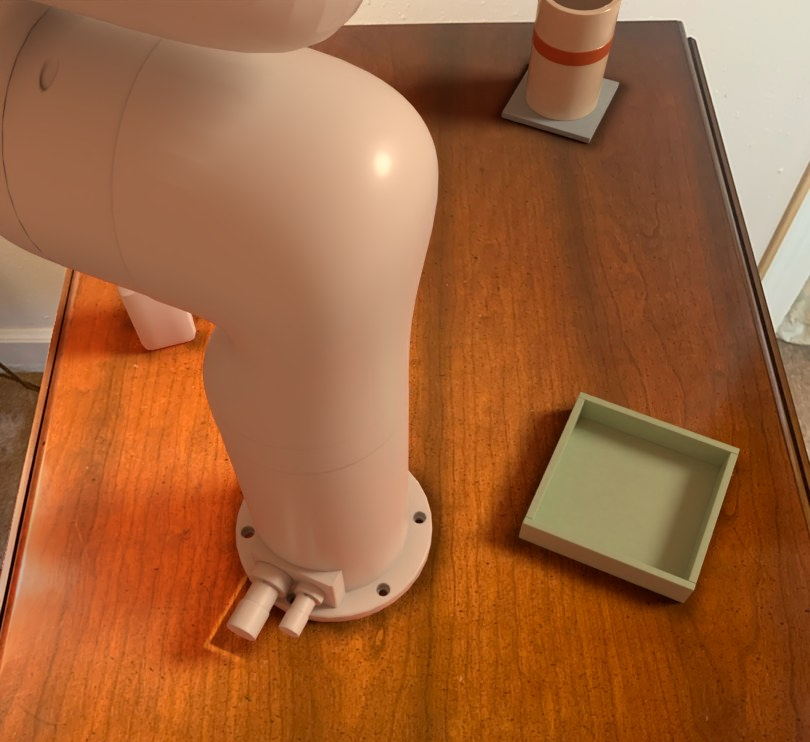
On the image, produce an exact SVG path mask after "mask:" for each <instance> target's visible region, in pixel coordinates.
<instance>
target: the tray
mask: <svg viewBox="0 0 810 742" xmlns="http://www.w3.org/2000/svg"><path fill="white" fill-rule="evenodd" d="M740 451H741V449H740V448H738V447H736V446H733V445H731V444H727V443H725V442H722V441H719V440H716V439H713V438H711V437H708V436H705V435H702V434H699V433H697V432H695V431H691V430H689V429H686V428H682V427H680V426H678V425H675V424H672V423H670V422H666V421H663V420H661V419H658V418H655V417H652V416H649V415H647V414H644V413H642V412H641V413H640V412H638V411H637V410H633V409H631V408H627V407H624V406H622V405H619V404H616V403H613V402H612V401H611V402H610V401H608V400H605V399H602V398H599V397H597V396H593V395H591V394H588V393H585V392H584V391H583V392H582V391H580V392H579V394H578V396H577V397H576V401H575V403H574V405H573V407H572V410H571V412H570V414H569V416H568V419H567V421H566V423H565V425H564V428H563V430H562V433H561V435H560V437H559V439H558V441H557V444H556V446H555V448H554V451H553V453H552V454H551V457H550V459H549V462H548V464H547V466H546V469H545V471H544V473H543V475H542V477H541V480H540V482H539V485H538V487H537V489H536V491H535V493H534V496H533V498H532V500H531V502H530V505H529V507H528V509H527V512H526V514H525V516H524V518H523V521H522V523H521V527H520V530H519V532H518V533H519V534H518V538H519V539H521V540H524V541H526V542H529V543H532V544H534V545H536V546H539V547H541V548H544V549H546V550H549V551H551V552H554V553H557V554H559V555H562V556H564V557H567V558H569V559H572V560H574V561H577V562H579V563H581V564H584V565H587V566H589V567H592V568H594V569H597V570H599V571H601V572H604V573H607V574H609V575H612V576H614V577H617V578H619V579H622V580H625V581H627V582H629V583H632V584H634V585H636V586H639V587H642V588H644V589H646V590H650V591H652V592H654V593H656V594H659V595H662V596H664V597H667V598H668V599H671V600H673V601H677V602H679V603H681V604H682V603H683V604H684V603H685V602H686V601H687V599H688V598H690V596H691V595H692V593H693V592H695V591H694V590H695V589H696V586H697V582H698V579H699V576H700V573H701V570H702V566H703V563H704V560H705V558H706V554H707V553H708V548H709V545H710V543H711V539H712V536H713V534H714V533H713V532H714V529H715V527H716V524H717V520H718V517H719V515H720V511H721V509H722V506H723V502H724V499H725V496H726V493H727V490H728V487H729V484H730V480H731V478H732V475H733V472H734V468H735V466H736V463H737V459H738V456H739V453H740Z"/></svg>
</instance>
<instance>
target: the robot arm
mask: <svg viewBox="0 0 810 742" xmlns="http://www.w3.org/2000/svg"><path fill="white" fill-rule="evenodd" d="M363 2H364V0H0V236H1V237H2V238H3V239H5V240H7V242H9V243H11V244H13V245H14V246H16V247H18V248H20V249H22V250H24V251H26V252H28V253H30V254H32V255H34V256H37V257H40V258H41V259H43V260H47V261H49V262H50V263H54V264H56V265H59V266H61V267H63V268H66V269H69V270H72V271H75V272H78V273H80V274H84V275H86V276H89V277H92V278H95V279H97V280H101V281H103V282H106V283H108V284H112V285H114V286H116V287H117V286H120V287H123V288H126V289H129V290H131V291H134V292H137V293H140V294H143V295H146V296H148V297H150V298H152V299H153V300H155V301H158V302H160V303H163V304H166V305H169V306H172V307H175V308H177V309H180V310H183V311H185V312H188V313H190V314H192V316H196V317H198V318H200V319H202V320H205V321H206V322H208V323H210V324H213V325H214V328H213V330H212V332H211V334H210V335H209V338H208V341H207V343H206V345H205V346H206V347H205V350H204V355H203V362H202V382H203V387H204V388H203V389H204V392H205V396H206V400H207V403H208V407H209V409H210V412H211V415H212V418H213V421H214V423H215V426H216V427H217V429H218V431H219V434H220V436H221V439H222V442H223V445H224V447H225V451H226V453H227V456H228V458H229V462H230V464H231V466H232V469H233V472H234V475H235V477H236V481H237V483H238V485H239V488H240V491H241V493H242V495H243V496H242V497H243V499H242V502H241V505H240V507H239V509H238V512H237V518H236V523H235V543H236V549H237V553H238V556H239V557H238V558H239V560H240V563H241V566H242V568H243V570H244V571H245V574H246V576H247V578H248V580H249V581H250V583H251V585H250V586H249V588H248V590H247V592H246V593H245V595H244V596H243V598H241V599H240V600H239V602H238V603H237V605H236V607H235V609H234V610H233V612H232V614H231V616H230V617H229V619H228V621H227V623H225V626H226V628H227V629H228V630H229V631H231V632H232V633H234V634H235V635H237V637H240V638H242V639H244V640H247V641H250V642H256V640H257V638H258V636H259V634H260V633H261V631H262V629H263V627H264V626H265V624H266V622H267V620H268V618H269V617H270V612H271V610H272V608H273V606H275V607H277V608H278V609H280V610H281V611H283V612H285V614H284V616H283V617H282V619H281V621H280V623H279V625H278V627H277V628H278V629H279V631H281V632H282V633H283V634H285V635H287V636H289V637H291V638H295V639H299V638H300V636H301V634H302V632H303V630H304V628H305V626H306V625H307V623H308V621H309V620H310V621H313V622H319V623H343V622H348V621H353V620H359V619H362V618H365V617H368V616H370V615H373V614H375V613H378V612H380V611H381V610H384V609H386V608H387V607H388V606H390V605H392V604H394V603H395V602H396V601H397V600H398V599H400V598H401V597H402V596H403V595H404V594H405V593H407V591H409V590H410V588H411V587H412V586H413V584H414V583H415V582H416V580H417V579H418V578H419V577H420V575H421V573H422V571H423V569H424V567H425V565H426V563H427V561H428V557H429V554H430V549H431V546H432V536H433V521H432V511H431V508H430V504H429V501H428V498H427V495H426V494H425V492H424V489H423V488H422V486H421V484H420V482H419V481H418V480H417V479H416V477H415V476H414V475H413V474H412V473H411V472H410V470H409V464H410V463H409V455H410V453H409V452H410V449H409V447H410V445H409V443H410V442H409V441H410V439H409V437H410V436H409V435H410V432H409V431H410V349H411V348H410V347H411V334H412V322H413V317H414V310H415V305H416V300H417V299H416V298H417V296H418V295H417V294H418V289H419V286H420V281H421V277H422V273H423V269H424V265H425V261H426V257H427V253H428V249H429V244H430V241H431V238H432V237H431V236H432V232H433V229H434V228H433V227H434V222H435V215H436V210H437V203H438V198H439V197H438V196H439V161H438V155H437V150H436V145H435V142H434V140H433V136H432V134H431V132H430V129H429V128H428V126H427V124H426V123H425V121H424V119H423V118H422V116H421V115H420V113H419V112H418V111H417V110H416V108H415V107H414V105H412V104H411V103H410V101H408V100H407V98H406V97H404V95H402V94H401V93H400V92H399V91H398V90H396V89H395V88H394V87H393V86H392V85H390V84H388V83H387V82H386V81H385V80H383V79H381V78H379V77H378V76H376V75H374V74H372V73H371V72H369V71H367V70H365V69H363V68H361V67H359V66H357V65H354V64H353V63H350V62H348V61H346V60H344V59H342V58H339V57H336V56H335V55H331V54H327V53H325V52H322V51H320V50H316V49H313V48H311V46H314V45H317V44H319V43H321V42H324V41H326V40H328V39H329V38H331V37H332V36H333V35H335V33H337V32H338V31H339V30H340V29H341V28H342V27H343V26H344V25H345V24H346V23H348V21H350V19H351V18H352V17H353V16H354V15H355V14H356V13H357V11H358V10H359V8H360V7H361V5H362V3H363ZM417 521H421V522H422V523H421V522H420V523H419V522H418V523H417ZM249 536H251V537H249ZM382 592H385V593H386V595H380V593H382Z"/></svg>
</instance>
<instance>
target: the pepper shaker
mask: <svg viewBox="0 0 810 742" xmlns="http://www.w3.org/2000/svg"><path fill="white" fill-rule="evenodd" d="M116 288H117V291H118V294H119V297H120V299H121V302H122V304H123V305H124V308H125V310H126V312H127V314H128V317H129V319H130V321H131V323H132V325H133V328H134V331H135V333H136V335H137V337H138V339H139V341H140V343H141V345H142V346H143V348H145V349H146V350H147V351H155V350H159V349H163V348H167V347H171V346H176V345H179V344H183V343H187V342H191V341H192V340H194V339H195V338H196V334H197V333H196V332H197V329H196V326H195V322H194V318H193V314H190V313H188V312H185V311H183V310H180V309H177V308H175V307H172V306H169V305H166V304H163V303H160V302H158V301H155V300H153V299H152V298H150V297H148V296H146V295H143V294H140V293H137V292H134V291H131V290H129V289H126V288H123V287H120V286H117V285H116Z"/></svg>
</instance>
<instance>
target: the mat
mask: <svg viewBox="0 0 810 742" xmlns="http://www.w3.org/2000/svg"><path fill="white" fill-rule="evenodd" d="M527 75H528V69H527V70H526V71H525V73H524V74H523V77H522V78H521V80H520V82H519V84H518V85H517V87H516V88H515V90H514V92H513V94H512V95H511V97H510V98H509V100H508V102H507V103H506V105H505V107H504V109H503V110H502V112H501V118H503V119H506V120H509V121H511V122H516V123H520V124H522V125H525V126H529V127H533V128H535V129H540V130H543V131H546V132H549V133H552V134H555V135H559V136H562V137H565V138H569V139H573V140H576V141H579V142H582V143H586V144H590V142H591V140H592V138H593V136H594V134H595V133H596V131H597V129H598V126H599V124H600V122H601V121H602V120H603V117H604V115H605V114H606V111H607V109H608V108H609V106H610V104H611V102H612V100H613V98H614V96H615V94H616V93H617V91H618V88H619V85H620V82H619V81H616V80H612V79H610V78H609V79H608V78H605V77H604V78H603V83H602V87H601V91H600V96H599V100H598V104H597V106H596V107H595V109H594V110H593V111H592V112H591V113H590V114H588V115H587V116H585V117H583V118H580V119H576V120H570V121H558V120H553V119H549V118H546V117H543V116H541V115H539V114H538V113H536V112H535V111H534V110H532V109H531V108H530V106H529V105H528V103H527V101H526V98H525V89H526V82H527Z"/></svg>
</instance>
